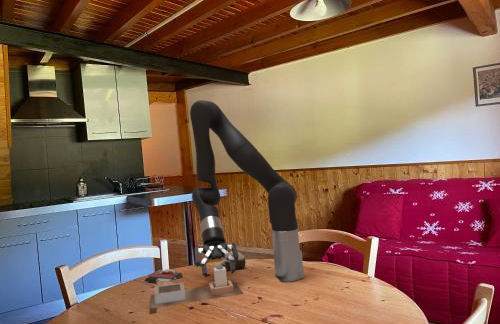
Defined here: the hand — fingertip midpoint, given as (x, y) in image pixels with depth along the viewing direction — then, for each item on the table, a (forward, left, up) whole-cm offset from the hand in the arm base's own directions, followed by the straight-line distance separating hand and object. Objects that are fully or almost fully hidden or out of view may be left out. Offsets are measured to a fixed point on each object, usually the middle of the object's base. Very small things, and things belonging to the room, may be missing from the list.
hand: (219, 274), depth 121 cm
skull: (-9, -26, -7) cm, 28 cm away
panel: (+8, 0, -7) cm, 10 cm away
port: (+16, 0, -5) cm, 17 cm away
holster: (0, 0, -5) cm, 5 cm away
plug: (0, 0, -5) cm, 5 cm away
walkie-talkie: (+15, -22, -7) cm, 28 cm away
